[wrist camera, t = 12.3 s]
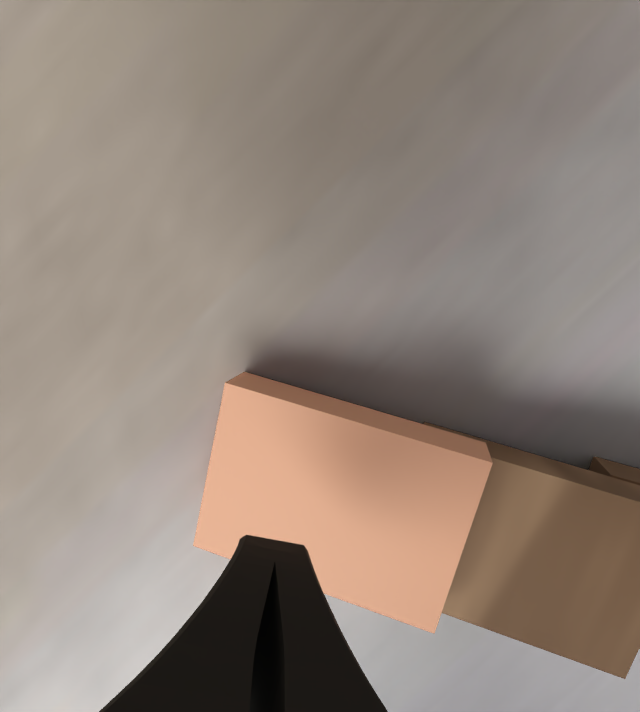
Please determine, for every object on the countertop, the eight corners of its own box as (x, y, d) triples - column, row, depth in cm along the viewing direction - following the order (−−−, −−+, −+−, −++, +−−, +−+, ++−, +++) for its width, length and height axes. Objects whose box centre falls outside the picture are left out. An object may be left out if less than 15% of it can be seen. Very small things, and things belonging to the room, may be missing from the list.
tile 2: (424, 421, 14) (671, 494, 13) (381, 561, 16) (606, 640, 14) (423, 437, 13) (699, 519, 12) (377, 589, 14) (624, 678, 13)
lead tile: (244, 371, 14) (485, 442, 13) (214, 521, 15) (433, 598, 14) (225, 382, 13) (492, 463, 11) (193, 545, 14) (434, 633, 13)
